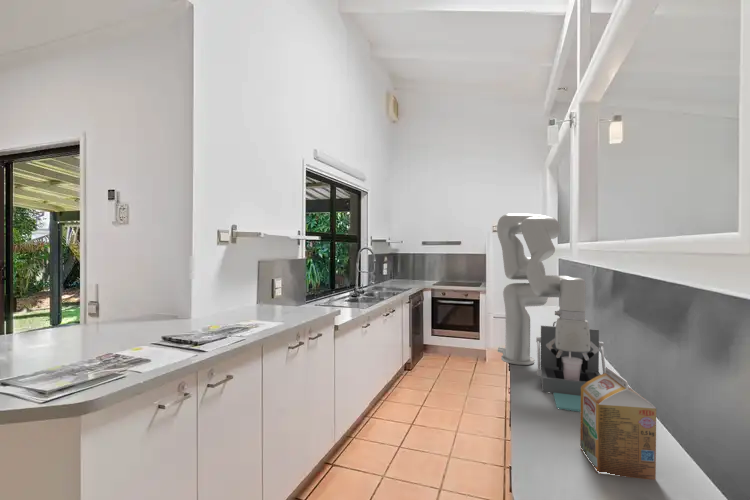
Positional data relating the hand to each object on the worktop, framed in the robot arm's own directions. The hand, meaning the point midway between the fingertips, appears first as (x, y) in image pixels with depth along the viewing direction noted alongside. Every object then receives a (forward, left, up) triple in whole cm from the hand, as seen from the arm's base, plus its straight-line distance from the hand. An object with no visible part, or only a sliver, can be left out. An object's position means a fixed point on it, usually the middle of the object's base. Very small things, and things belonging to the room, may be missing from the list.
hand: (571, 369), depth 130 cm
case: (0, 0, -6) cm, 6 cm away
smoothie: (0, 0, -6) cm, 6 cm away
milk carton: (+26, -39, -6) cm, 48 cm away
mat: (+7, -12, -6) cm, 15 cm away
